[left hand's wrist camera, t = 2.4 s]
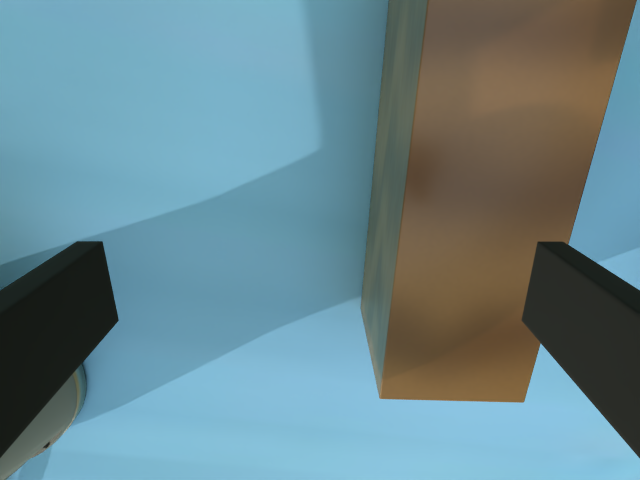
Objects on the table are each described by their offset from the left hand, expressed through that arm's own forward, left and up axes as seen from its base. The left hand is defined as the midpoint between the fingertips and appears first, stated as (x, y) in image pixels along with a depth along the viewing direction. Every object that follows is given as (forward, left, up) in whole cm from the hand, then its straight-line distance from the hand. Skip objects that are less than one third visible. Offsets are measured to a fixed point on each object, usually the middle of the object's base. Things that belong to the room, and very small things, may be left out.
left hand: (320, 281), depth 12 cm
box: (+1, -8, -17) cm, 19 cm away
